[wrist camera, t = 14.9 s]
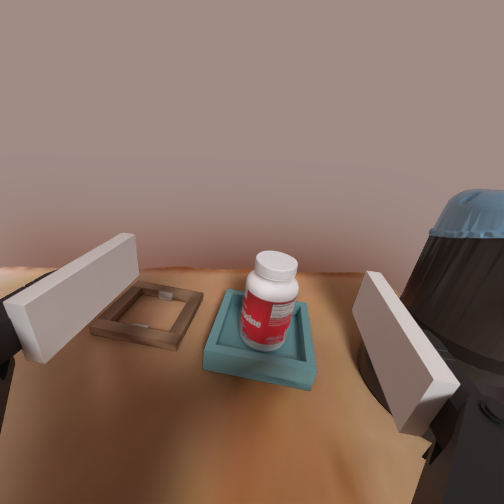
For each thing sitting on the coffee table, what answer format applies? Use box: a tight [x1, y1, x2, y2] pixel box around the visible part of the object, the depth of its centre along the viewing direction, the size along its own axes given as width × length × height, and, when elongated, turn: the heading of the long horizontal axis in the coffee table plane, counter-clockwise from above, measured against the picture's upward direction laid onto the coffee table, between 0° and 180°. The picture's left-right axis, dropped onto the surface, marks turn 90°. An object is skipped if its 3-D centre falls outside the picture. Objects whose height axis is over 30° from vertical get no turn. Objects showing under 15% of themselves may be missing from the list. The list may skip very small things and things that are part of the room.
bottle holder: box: [89, 281, 203, 351], centre depth 33 cm, size 11×11×1 cm
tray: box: [203, 288, 317, 391], centre depth 31 cm, size 12×12×3 cm
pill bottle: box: [239, 251, 299, 352], centre depth 29 cm, size 6×6×11 cm
